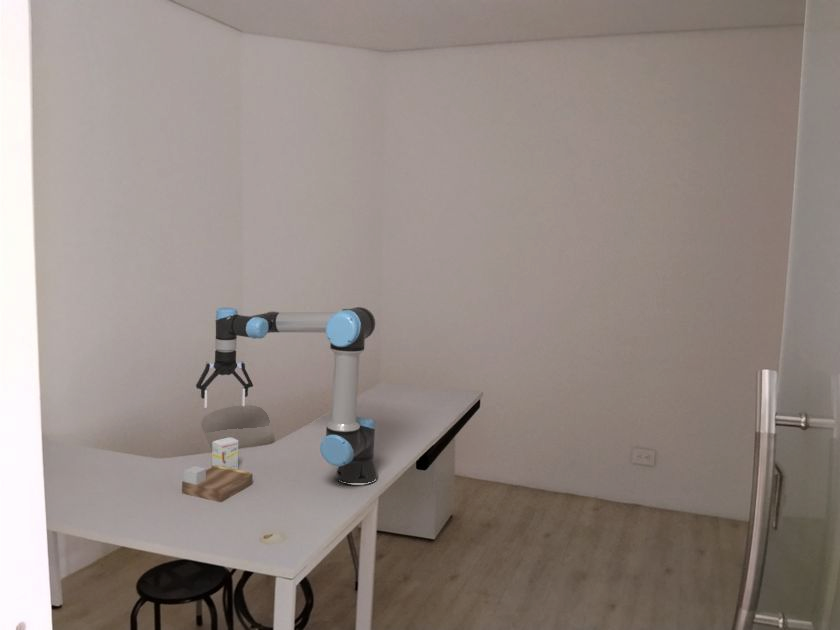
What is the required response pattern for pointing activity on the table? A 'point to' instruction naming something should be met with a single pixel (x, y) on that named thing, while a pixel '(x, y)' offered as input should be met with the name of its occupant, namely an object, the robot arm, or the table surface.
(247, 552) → the table surface
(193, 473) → the light grey block
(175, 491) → the table surface
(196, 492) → the dock
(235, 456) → the ink box
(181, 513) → the table surface
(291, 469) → the table surface
